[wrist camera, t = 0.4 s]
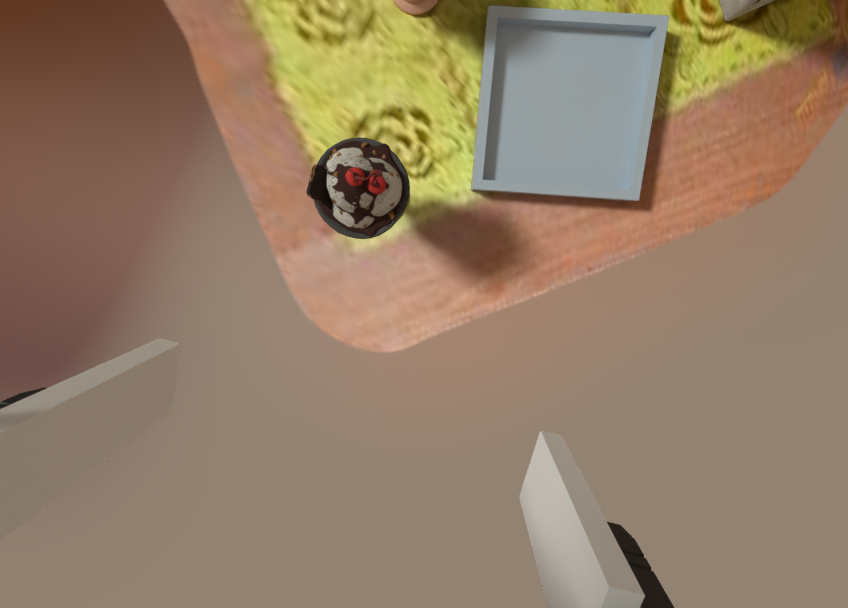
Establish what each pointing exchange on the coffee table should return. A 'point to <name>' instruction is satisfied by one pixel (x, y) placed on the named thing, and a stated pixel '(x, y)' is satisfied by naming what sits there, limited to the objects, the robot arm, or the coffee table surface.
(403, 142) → the coffee table surface
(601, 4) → the coffee table surface
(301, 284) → the coffee table surface
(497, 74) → the tray
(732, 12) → the coffee box
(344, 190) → the sundae
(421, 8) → the stand
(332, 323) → the coffee table surface
